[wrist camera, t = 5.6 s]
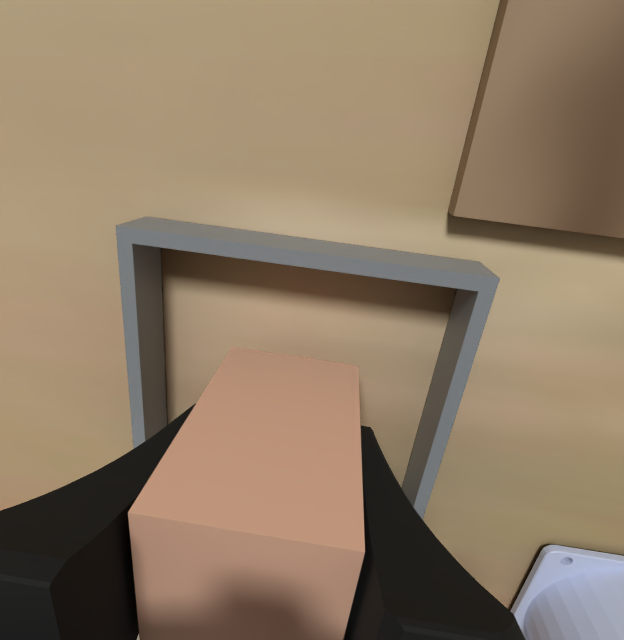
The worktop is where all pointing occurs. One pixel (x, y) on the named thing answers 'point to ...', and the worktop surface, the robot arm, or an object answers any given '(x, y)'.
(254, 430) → the block
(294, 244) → the square frame
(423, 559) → the robot arm
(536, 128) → the board
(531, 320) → the worktop surface
